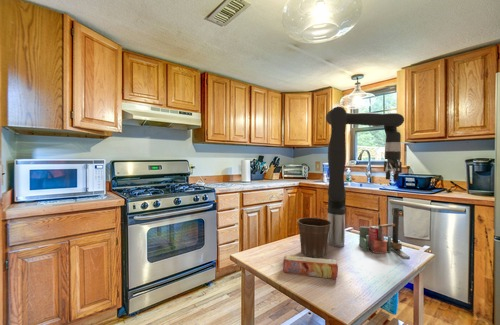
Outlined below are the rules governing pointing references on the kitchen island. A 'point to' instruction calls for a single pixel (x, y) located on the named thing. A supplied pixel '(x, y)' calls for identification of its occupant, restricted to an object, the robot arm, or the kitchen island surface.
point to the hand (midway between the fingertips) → (391, 180)
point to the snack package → (310, 266)
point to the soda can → (374, 235)
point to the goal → (365, 239)
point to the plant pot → (314, 236)
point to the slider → (381, 245)
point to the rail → (400, 253)
